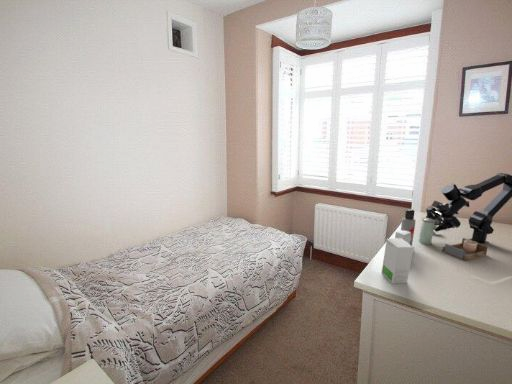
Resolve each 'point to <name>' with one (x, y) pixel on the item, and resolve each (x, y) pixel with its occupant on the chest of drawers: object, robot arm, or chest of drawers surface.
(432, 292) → the chest of drawers surface
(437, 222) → the artificial flower
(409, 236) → the skincare box
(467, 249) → the jar
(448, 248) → the bar
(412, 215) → the lotion bottle
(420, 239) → the mint green grey canister
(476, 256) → the wooden tray
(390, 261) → the skincare box
